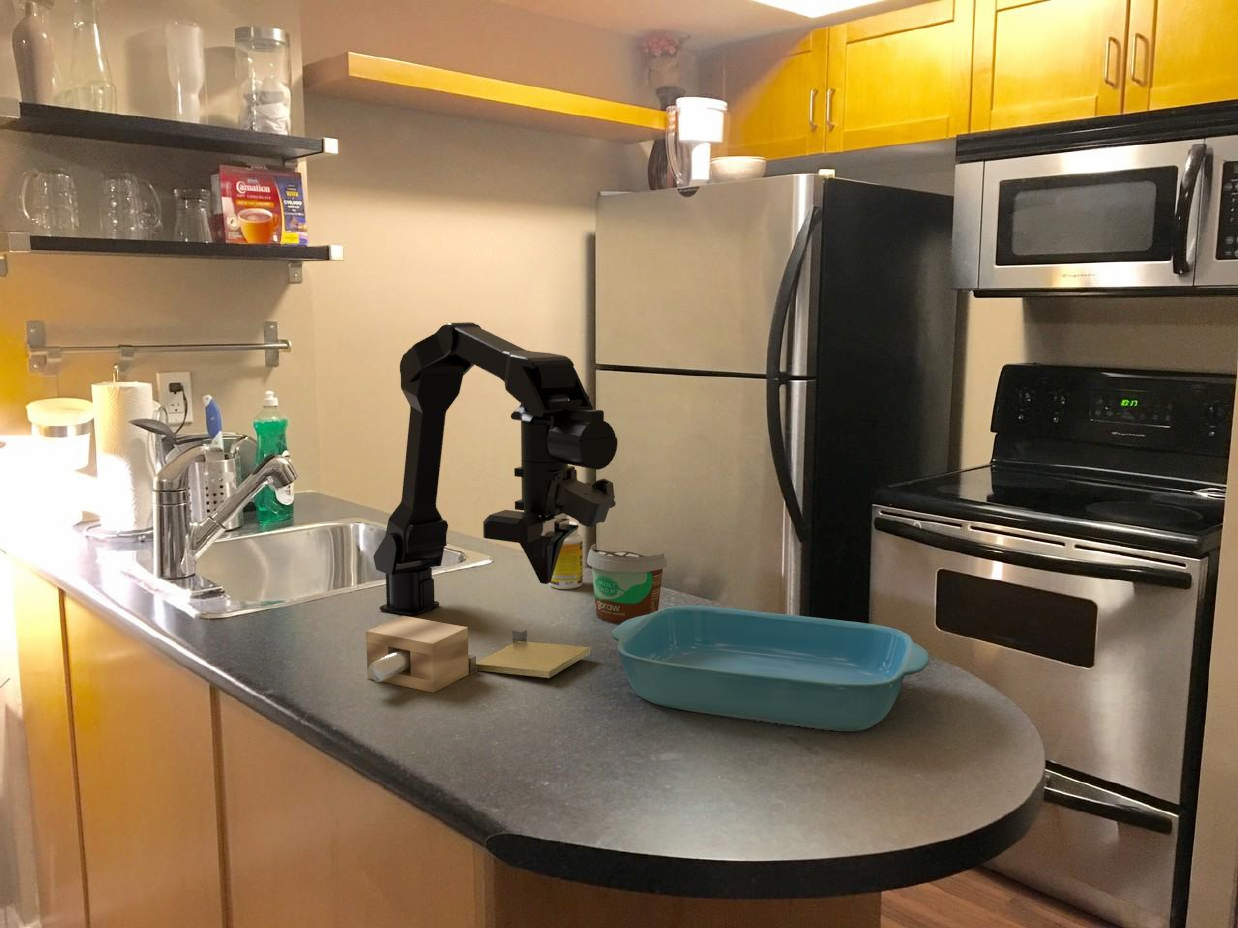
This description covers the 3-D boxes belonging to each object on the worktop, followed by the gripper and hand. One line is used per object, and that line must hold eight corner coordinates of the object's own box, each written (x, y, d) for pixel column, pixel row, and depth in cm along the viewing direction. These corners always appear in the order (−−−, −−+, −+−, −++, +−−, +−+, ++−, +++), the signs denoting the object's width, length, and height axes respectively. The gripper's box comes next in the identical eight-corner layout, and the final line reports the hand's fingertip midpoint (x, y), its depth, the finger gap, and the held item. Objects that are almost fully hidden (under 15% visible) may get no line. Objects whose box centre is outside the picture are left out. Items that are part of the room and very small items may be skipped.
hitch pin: (362, 686, 124) (361, 650, 123) (431, 653, 135) (430, 620, 134) (392, 693, 122) (391, 656, 121) (459, 659, 133) (458, 625, 132)
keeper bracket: (461, 671, 131) (460, 656, 130) (516, 642, 142) (516, 628, 141) (471, 673, 130) (471, 658, 130) (526, 644, 141) (526, 630, 141)
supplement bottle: (585, 589, 168) (585, 526, 166) (551, 591, 167) (550, 528, 165) (579, 580, 173) (579, 519, 172) (545, 581, 172) (545, 520, 170)
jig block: (367, 678, 128) (365, 630, 127) (404, 660, 135) (403, 615, 134) (433, 692, 124) (432, 643, 123) (468, 674, 130) (467, 627, 129)
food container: (571, 619, 152) (571, 551, 151) (592, 608, 158) (592, 543, 156) (647, 632, 147) (648, 562, 145) (666, 620, 152) (667, 552, 150)
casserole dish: (582, 707, 120) (582, 647, 119) (647, 647, 141) (648, 595, 140) (915, 758, 107) (919, 691, 106) (934, 684, 128) (937, 628, 127)
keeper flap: (474, 669, 131) (473, 663, 131) (518, 646, 140) (517, 640, 140) (549, 677, 126) (549, 671, 126) (590, 653, 135) (589, 647, 135)
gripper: (562, 476, 117) (562, 612, 119) (638, 454, 133) (637, 574, 136) (479, 468, 122) (481, 598, 124) (562, 447, 138) (562, 563, 141)
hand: (545, 583), depth 131 cm, fingers closed
